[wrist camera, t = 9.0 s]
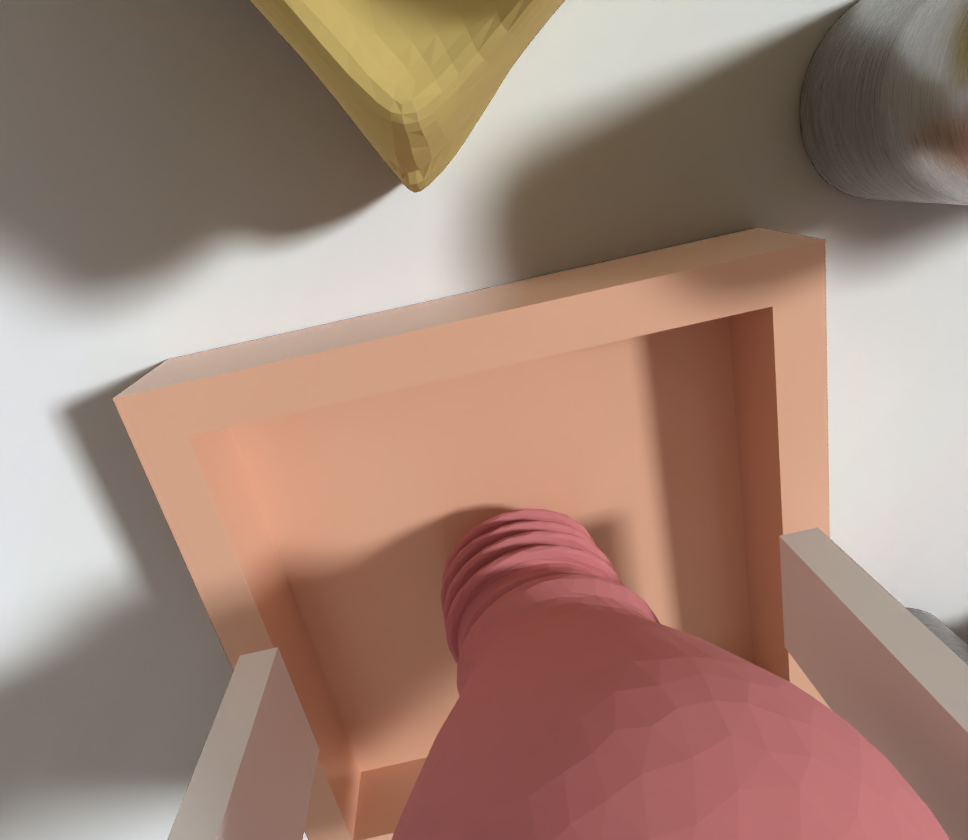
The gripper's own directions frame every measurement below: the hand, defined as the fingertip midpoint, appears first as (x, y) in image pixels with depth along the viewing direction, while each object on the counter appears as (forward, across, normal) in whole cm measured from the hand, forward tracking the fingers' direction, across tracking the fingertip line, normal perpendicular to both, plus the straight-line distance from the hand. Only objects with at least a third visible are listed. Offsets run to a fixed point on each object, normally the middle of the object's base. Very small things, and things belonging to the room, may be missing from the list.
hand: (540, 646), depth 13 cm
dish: (+4, 0, 0) cm, 4 cm away
